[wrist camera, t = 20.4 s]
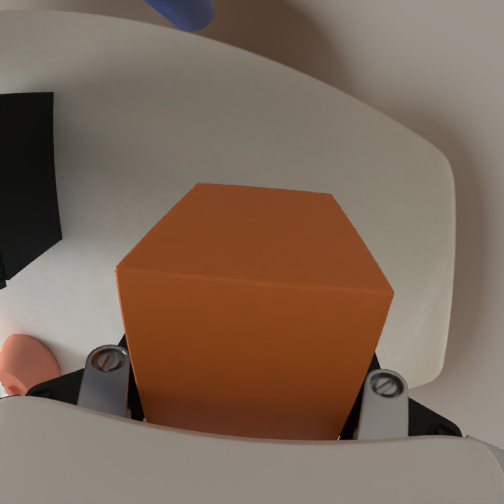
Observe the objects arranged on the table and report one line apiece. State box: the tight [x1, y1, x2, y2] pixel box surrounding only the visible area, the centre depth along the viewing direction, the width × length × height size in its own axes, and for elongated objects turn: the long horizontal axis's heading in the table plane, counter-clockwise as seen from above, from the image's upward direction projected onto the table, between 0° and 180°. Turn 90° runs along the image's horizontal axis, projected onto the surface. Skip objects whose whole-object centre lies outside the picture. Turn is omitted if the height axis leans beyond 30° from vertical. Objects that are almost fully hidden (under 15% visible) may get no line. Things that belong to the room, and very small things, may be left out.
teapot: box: [0, 334, 61, 396], centre depth 40 cm, size 12×18×10 cm
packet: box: [115, 183, 394, 441], centre depth 10 cm, size 5×9×7 cm, turn 176°
